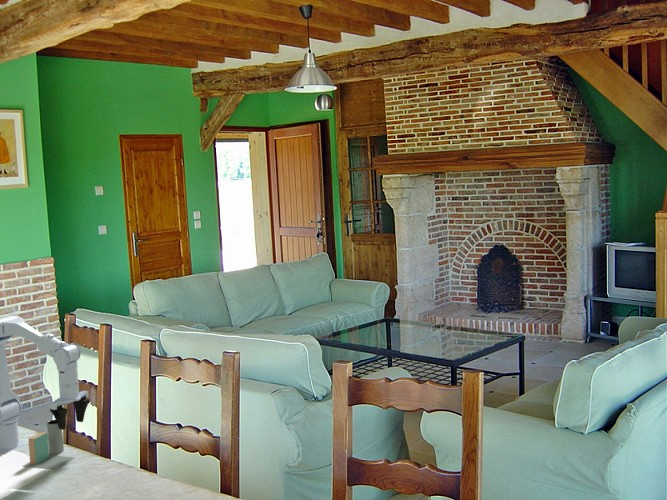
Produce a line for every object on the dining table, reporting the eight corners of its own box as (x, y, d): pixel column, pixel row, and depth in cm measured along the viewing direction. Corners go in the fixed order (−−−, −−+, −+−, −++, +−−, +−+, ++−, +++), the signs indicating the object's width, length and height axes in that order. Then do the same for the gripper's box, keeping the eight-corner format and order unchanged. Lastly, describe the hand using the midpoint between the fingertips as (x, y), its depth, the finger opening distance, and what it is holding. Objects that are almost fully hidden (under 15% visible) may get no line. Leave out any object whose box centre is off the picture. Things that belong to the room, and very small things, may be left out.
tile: (30, 463, 229) (28, 438, 228) (43, 456, 235) (41, 432, 234) (36, 464, 228) (34, 438, 228) (49, 457, 234) (47, 432, 233)
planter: (48, 451, 240) (46, 420, 239) (63, 449, 242) (61, 418, 241) (49, 456, 236) (47, 424, 235) (64, 453, 238) (62, 422, 237)
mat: (22, 467, 227) (21, 466, 227) (43, 456, 237) (43, 454, 237) (55, 471, 224) (55, 469, 223) (75, 459, 233) (75, 457, 233)
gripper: (60, 390, 226) (63, 434, 227) (94, 378, 239) (97, 419, 240) (43, 388, 229) (46, 431, 230) (78, 376, 242) (80, 417, 243)
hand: (71, 425), depth 235 cm, fingers open, 7 cm apart
